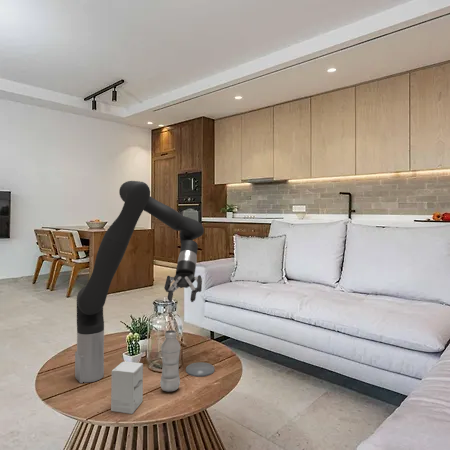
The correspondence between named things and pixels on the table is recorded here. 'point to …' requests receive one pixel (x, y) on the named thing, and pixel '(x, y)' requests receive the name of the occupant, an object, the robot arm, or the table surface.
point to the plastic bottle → (170, 362)
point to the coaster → (200, 369)
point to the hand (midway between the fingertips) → (180, 301)
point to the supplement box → (127, 387)
